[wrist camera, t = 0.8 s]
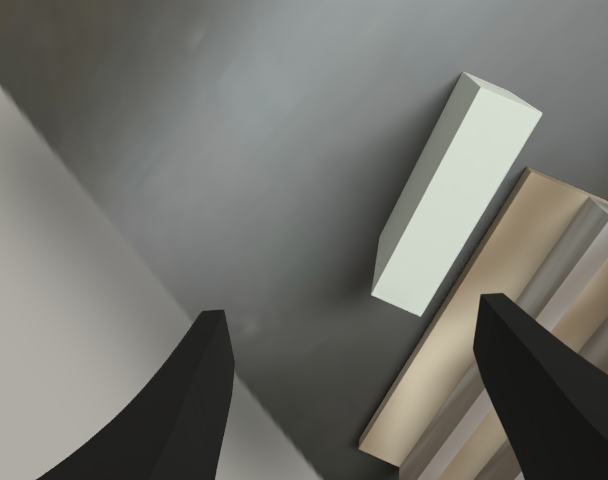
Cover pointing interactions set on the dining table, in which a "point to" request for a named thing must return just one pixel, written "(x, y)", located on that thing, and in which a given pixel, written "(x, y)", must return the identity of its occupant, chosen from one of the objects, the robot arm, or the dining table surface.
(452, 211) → the door panel
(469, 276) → the door track base
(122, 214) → the dining table surface
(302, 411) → the dining table surface
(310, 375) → the dining table surface
